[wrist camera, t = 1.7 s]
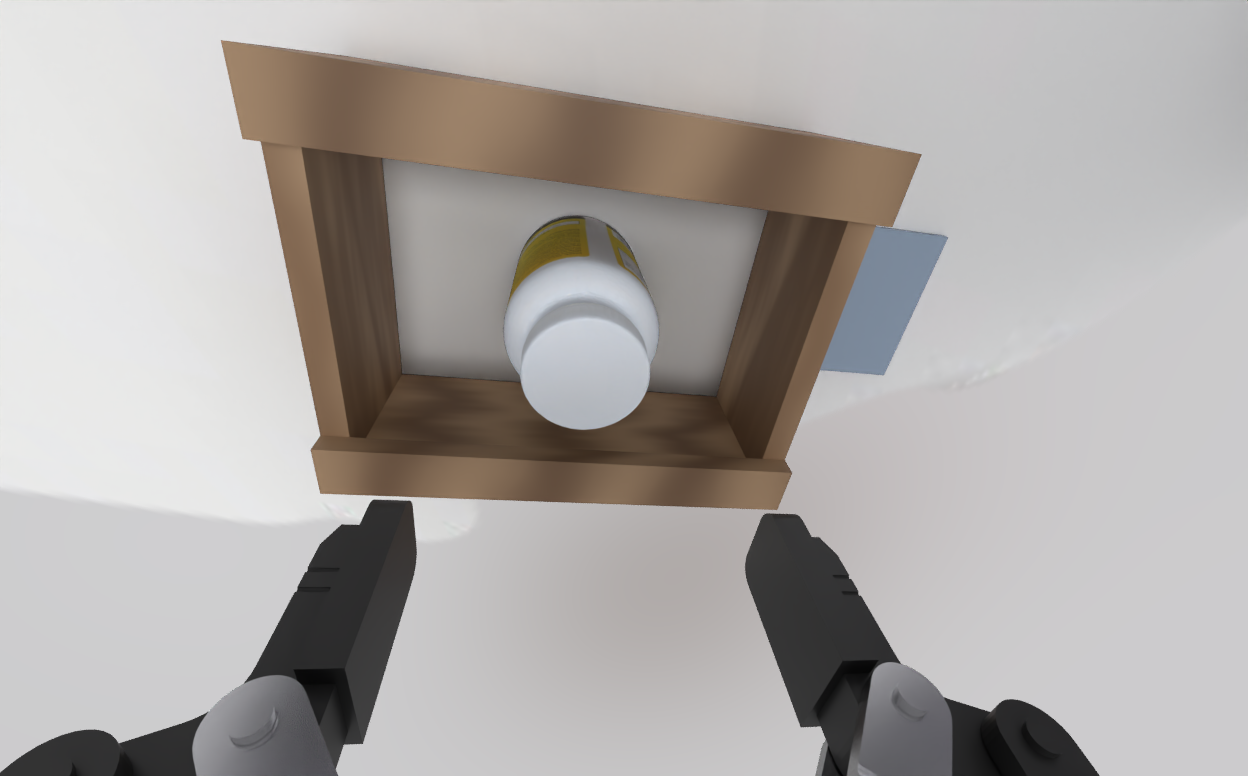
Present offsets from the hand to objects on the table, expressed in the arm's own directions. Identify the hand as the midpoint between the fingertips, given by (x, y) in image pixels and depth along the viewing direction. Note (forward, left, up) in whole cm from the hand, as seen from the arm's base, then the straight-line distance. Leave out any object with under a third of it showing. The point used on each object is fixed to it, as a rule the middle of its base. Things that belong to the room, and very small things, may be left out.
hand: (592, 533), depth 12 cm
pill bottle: (0, 0, -19) cm, 19 cm away
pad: (-16, 0, -19) cm, 25 cm away
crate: (0, 0, -19) cm, 19 cm away
